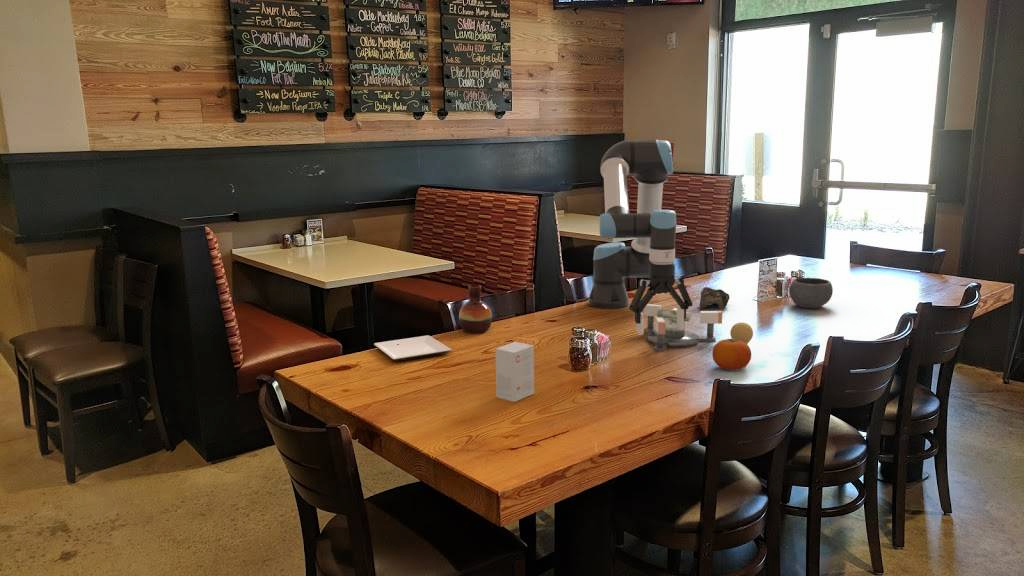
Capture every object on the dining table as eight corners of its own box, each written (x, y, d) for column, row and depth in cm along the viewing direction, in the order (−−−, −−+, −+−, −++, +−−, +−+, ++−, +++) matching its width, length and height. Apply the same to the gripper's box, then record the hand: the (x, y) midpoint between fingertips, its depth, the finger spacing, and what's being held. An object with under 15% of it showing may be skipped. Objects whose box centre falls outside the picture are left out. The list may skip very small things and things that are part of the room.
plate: (393, 365, 226) (393, 358, 226) (373, 349, 242) (373, 343, 242) (452, 355, 235) (452, 349, 234) (429, 341, 251) (429, 334, 250)
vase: (497, 328, 264) (496, 283, 261) (483, 336, 255) (482, 290, 251) (468, 325, 269) (467, 281, 266) (453, 333, 259) (452, 287, 256)
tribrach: (621, 345, 242) (621, 313, 240) (647, 329, 259) (647, 300, 257) (696, 356, 229) (697, 322, 227) (718, 339, 247) (719, 308, 245)
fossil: (727, 302, 294) (730, 282, 288) (728, 319, 287) (732, 298, 281) (697, 301, 296) (700, 280, 289) (698, 317, 289) (701, 297, 282)
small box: (515, 389, 204) (515, 341, 201) (534, 394, 200) (534, 345, 197) (495, 397, 198) (494, 348, 195) (514, 402, 194) (513, 352, 191)
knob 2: (655, 342, 240) (655, 317, 238) (661, 342, 240) (662, 317, 238) (657, 348, 233) (658, 322, 232) (664, 348, 233) (665, 322, 232)
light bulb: (752, 353, 231) (754, 320, 229) (751, 359, 226) (753, 326, 223) (730, 351, 233) (731, 319, 231) (728, 357, 228) (730, 324, 226)
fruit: (744, 376, 211) (745, 348, 209) (706, 370, 216) (707, 342, 215) (754, 365, 220) (756, 338, 218) (718, 360, 225) (719, 333, 224)
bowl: (787, 310, 284) (789, 283, 281) (789, 301, 297) (791, 275, 295) (831, 313, 278) (833, 285, 276) (831, 304, 292) (833, 278, 289)
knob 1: (660, 328, 256) (661, 304, 254) (659, 330, 254) (659, 306, 252) (641, 326, 258) (642, 303, 257) (639, 328, 257) (640, 304, 255)
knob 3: (700, 337, 245) (701, 312, 243) (699, 335, 247) (700, 310, 245) (721, 337, 245) (722, 312, 243) (719, 335, 247) (720, 310, 245)
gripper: (629, 267, 224) (628, 338, 228) (705, 261, 231) (702, 330, 236) (618, 263, 231) (617, 332, 235) (692, 257, 238) (690, 324, 243)
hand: (660, 331), depth 236 cm, fingers open, 13 cm apart
